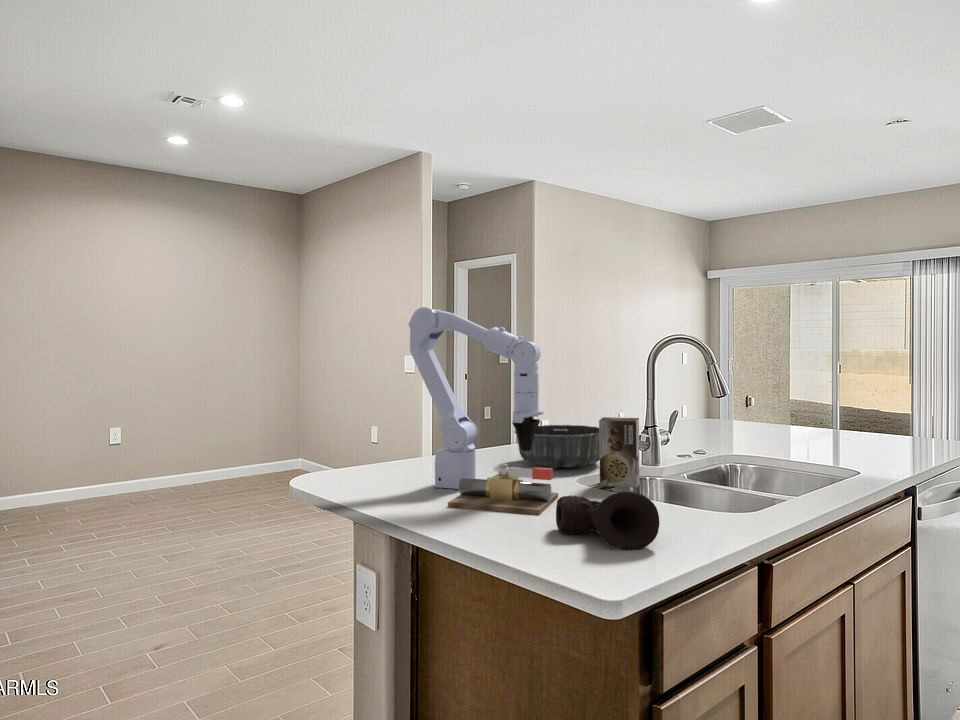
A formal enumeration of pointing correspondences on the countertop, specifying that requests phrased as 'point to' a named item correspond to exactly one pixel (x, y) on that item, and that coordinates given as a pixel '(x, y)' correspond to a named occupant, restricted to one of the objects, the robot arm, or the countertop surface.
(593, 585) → the countertop surface
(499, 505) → the mount board
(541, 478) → the valve lever
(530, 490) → the valve body
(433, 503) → the countertop surface
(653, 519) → the pipe
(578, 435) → the bundt pan
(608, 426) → the coffee box
